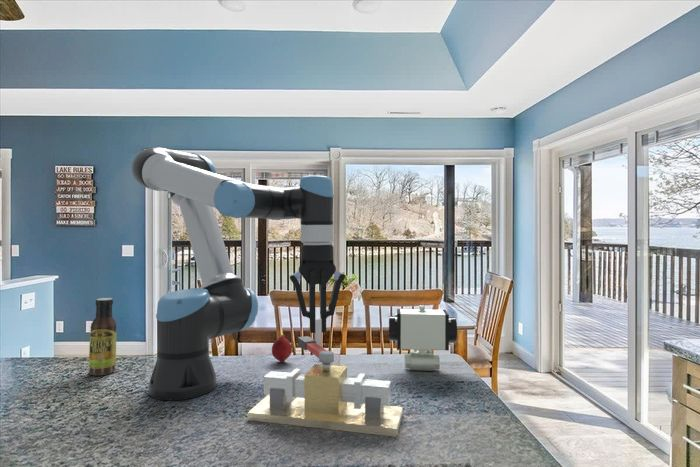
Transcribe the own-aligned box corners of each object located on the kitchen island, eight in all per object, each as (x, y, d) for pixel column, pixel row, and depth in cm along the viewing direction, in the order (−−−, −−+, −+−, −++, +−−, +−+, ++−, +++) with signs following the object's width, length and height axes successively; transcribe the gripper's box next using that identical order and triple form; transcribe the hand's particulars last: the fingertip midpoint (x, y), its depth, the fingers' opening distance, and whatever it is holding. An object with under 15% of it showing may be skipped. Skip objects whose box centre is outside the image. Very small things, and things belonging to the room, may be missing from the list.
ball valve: (452, 365, 120) (452, 303, 119) (457, 375, 111) (457, 308, 111) (389, 363, 121) (389, 301, 121) (388, 373, 113) (388, 307, 113)
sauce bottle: (85, 377, 109) (85, 301, 109) (93, 370, 115) (93, 297, 115) (112, 375, 111) (112, 300, 111) (119, 368, 117) (119, 296, 117)
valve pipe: (247, 420, 85) (247, 364, 85) (268, 400, 94) (268, 350, 94) (396, 436, 78) (396, 376, 78) (402, 414, 87) (402, 360, 87)
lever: (336, 362, 85) (336, 353, 85) (322, 364, 84) (322, 355, 84) (309, 343, 100) (309, 335, 100) (297, 344, 98) (297, 337, 98)
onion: (282, 366, 118) (282, 338, 118) (267, 363, 122) (267, 335, 122) (295, 361, 123) (295, 333, 123) (281, 358, 126) (281, 331, 126)
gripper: (342, 243, 102) (343, 340, 102) (288, 243, 99) (289, 344, 99) (347, 243, 94) (348, 349, 94) (289, 244, 92) (290, 352, 92)
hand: (318, 346), depth 97 cm, fingers closed
